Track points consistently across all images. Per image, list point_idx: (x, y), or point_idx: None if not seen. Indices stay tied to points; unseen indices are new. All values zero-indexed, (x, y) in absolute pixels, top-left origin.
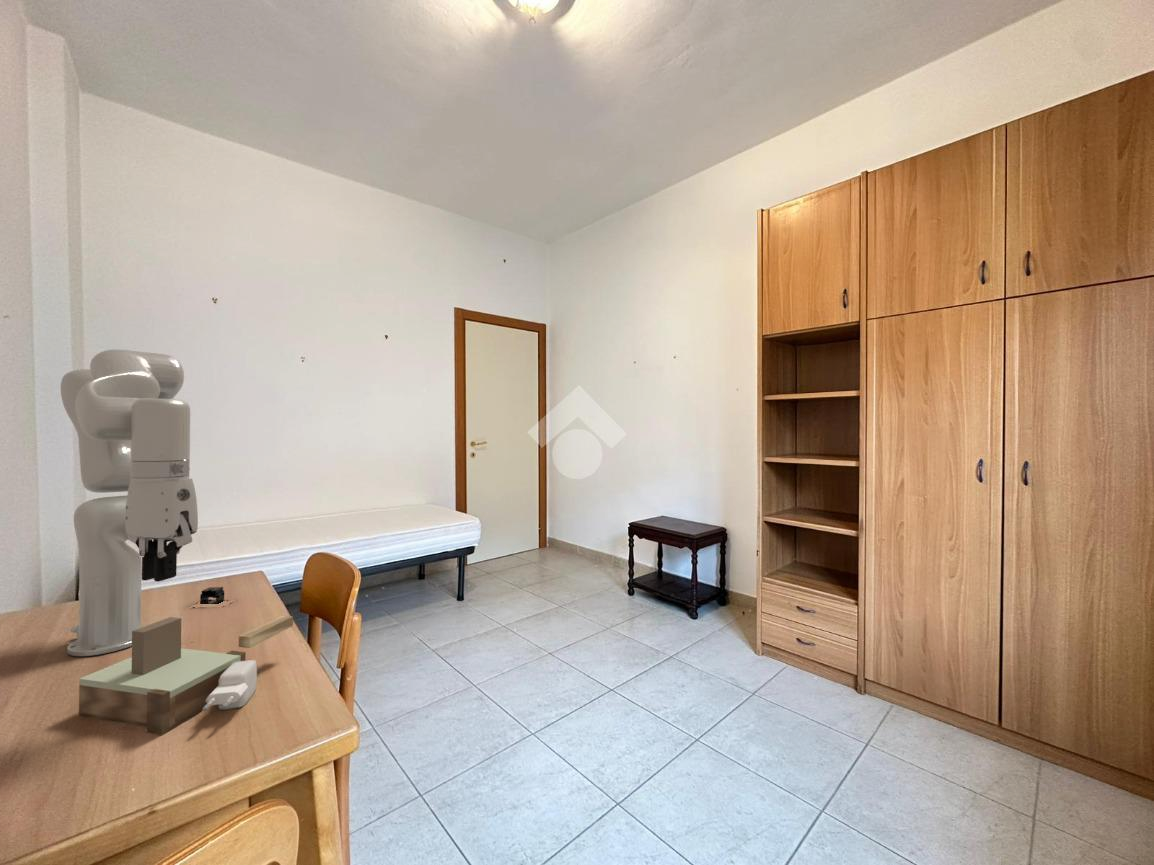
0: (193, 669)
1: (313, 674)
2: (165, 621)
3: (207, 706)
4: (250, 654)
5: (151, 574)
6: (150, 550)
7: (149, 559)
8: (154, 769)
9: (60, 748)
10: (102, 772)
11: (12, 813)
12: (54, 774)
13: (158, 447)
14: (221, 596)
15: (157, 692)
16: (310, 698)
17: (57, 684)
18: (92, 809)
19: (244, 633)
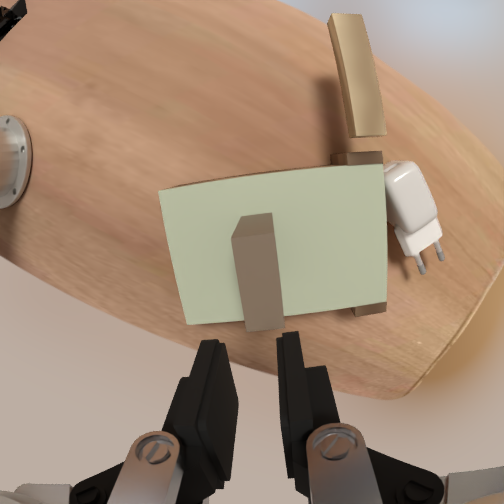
0: (351, 238)
1: (426, 95)
2: (256, 265)
3: (425, 269)
4: (247, 62)
5: (233, 399)
6: (197, 494)
7: (226, 465)
8: (414, 322)
9: (270, 341)
10: (367, 344)
11: (346, 391)
12: (321, 362)
13: None
14: (6, 11)
15: (371, 311)
16: (471, 158)
17: (72, 256)
18: (407, 366)
19: (354, 120)
